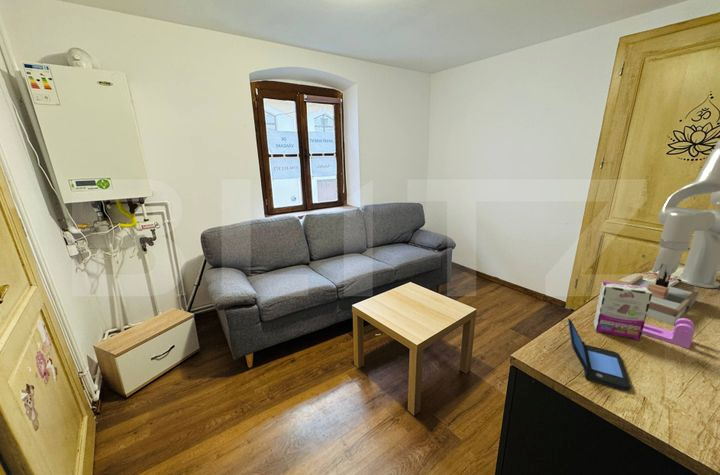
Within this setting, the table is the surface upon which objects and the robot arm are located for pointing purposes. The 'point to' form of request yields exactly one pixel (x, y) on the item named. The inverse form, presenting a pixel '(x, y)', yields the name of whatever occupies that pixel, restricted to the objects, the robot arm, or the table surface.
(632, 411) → the table surface
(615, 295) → the candy bar box
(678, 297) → the box
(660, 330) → the bracket
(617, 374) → the handheld game console
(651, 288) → the block
